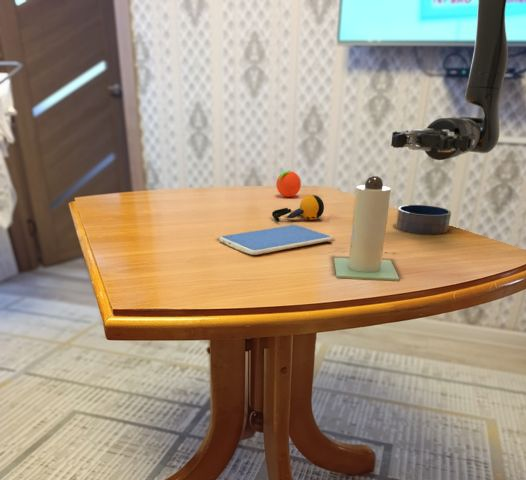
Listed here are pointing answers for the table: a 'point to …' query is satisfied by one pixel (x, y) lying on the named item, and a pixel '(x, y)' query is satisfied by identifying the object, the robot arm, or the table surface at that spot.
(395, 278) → the napkin
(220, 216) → the table surface
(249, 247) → the tablet
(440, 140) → the robot arm
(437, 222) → the bowl
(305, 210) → the character figurine
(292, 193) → the clementine
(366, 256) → the pepper mill
